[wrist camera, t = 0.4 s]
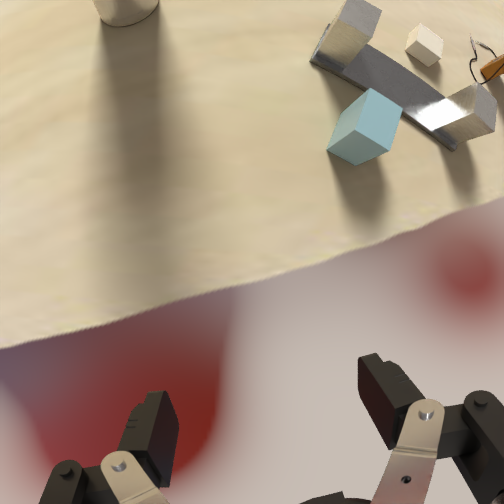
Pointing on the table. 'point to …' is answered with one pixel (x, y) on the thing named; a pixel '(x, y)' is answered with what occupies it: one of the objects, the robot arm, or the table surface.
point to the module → (365, 128)
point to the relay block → (424, 45)
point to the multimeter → (490, 65)
